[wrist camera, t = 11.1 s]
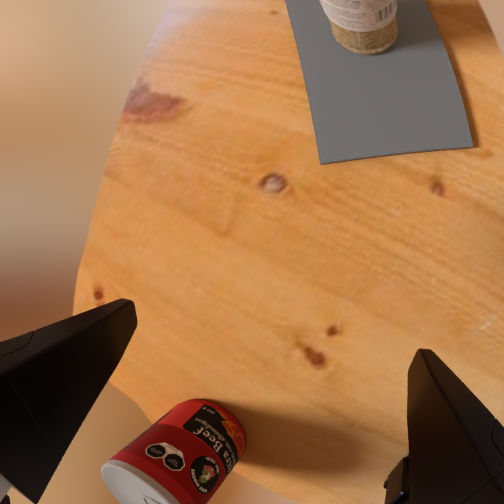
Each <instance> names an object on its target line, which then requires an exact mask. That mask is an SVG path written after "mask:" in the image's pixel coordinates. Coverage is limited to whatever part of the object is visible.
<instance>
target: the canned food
mask: <svg viewBox="0 0 504 504" xmlns="http://www.w3.org/2000/svg"><path fill="white" fill-rule="evenodd" d="M245 443H246V437H245V433H244V430H243V428H242V427H241V425H240V424H239V422H238V421H237V420H236V418H234V417H233V416H232V415H231V414H230V413H229V412H228V411H226V410H225V409H224V408H222V407H220V406H218V405H217V404H214V403H212V402H209V401H205V400H201V399H192V400H187V401H185V402H182V403H179V404H177V405H176V406H175V407H174V408H172V409H171V410H170V411H169V412H168V413H166V414H165V415H164V416H163V417H162V418H160V419H159V420H158V421H157V422H156V423H154V424H153V425H152V426H151V427H150V428H148V429H147V430H146V431H145V432H143V433H142V434H141V435H140V436H139V437H137V438H136V439H135V440H133V441H132V442H131V443H130V444H128V445H127V446H126V447H125V448H123V449H122V450H121V451H119V452H118V453H117V454H116V455H115V456H113V457H112V458H111V459H110V460H109V461H107V462H106V464H105V465H103V466H102V469H101V473H102V477H103V479H104V481H105V483H106V485H107V487H108V488H109V490H110V491H111V492H112V494H113V495H114V496H115V497H116V498H117V499H118V501H119V502H120V503H121V504H207V502H208V501H209V500H210V498H211V497H212V496H213V494H214V493H215V492H216V490H217V489H218V488H219V487H220V485H221V484H222V482H223V481H224V480H225V478H226V477H227V476H228V474H229V473H230V472H231V470H232V469H233V467H234V466H235V465H236V463H237V462H238V460H239V459H240V457H241V456H242V454H243V453H244V448H245Z"/></svg>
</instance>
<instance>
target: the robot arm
mask: <svg viewBox="0 0 504 504" xmlns="http://www.w3.org/2000/svg"><path fill="white" fill-rule="evenodd" d="M136 327H137V316H136V310H135V305H134V302H133V301H132V300H128V299H124V298H121V299H118V300H116V301H113V302H110V303H107V304H105V305H102V306H99V307H97V308H94V309H91V310H88V311H86V312H83V313H80V314H78V315H75V316H72V317H69V318H67V319H64V320H61V321H59V322H56V323H53V324H50V325H48V326H45V327H42V328H40V329H37V330H35V331H31V332H29V333H26V334H23V335H20V336H18V337H15V338H12V339H8V340H5V341H1V342H0V504H10V498H9V496H8V495H7V492H8V491H9V490H10V488H11V487H13V488H15V489H16V490H17V491H18V492H20V493H21V494H22V495H23V496H25V497H26V498H27V499H29V500H30V501H31V502H33V503H34V504H37V503H38V502H39V500H40V498H41V496H42V494H43V493H44V490H45V489H46V487H47V485H48V483H49V481H50V480H51V477H52V476H53V474H54V472H55V470H56V469H57V467H58V465H59V463H60V461H61V460H62V457H63V456H64V454H65V452H66V450H67V449H68V447H69V445H70V443H71V442H72V440H73V438H74V436H75V435H76V433H77V431H78V430H79V428H80V426H81V424H82V422H83V421H84V419H85V418H86V416H87V414H88V412H89V411H90V409H91V407H92V406H93V404H94V403H95V401H96V399H97V398H98V396H99V394H100V393H101V391H102V389H103V388H104V386H105V385H106V383H107V381H108V380H109V378H110V377H111V375H112V373H113V372H114V370H115V369H116V367H117V365H118V363H119V362H120V360H121V358H122V356H123V354H124V352H125V350H126V348H127V346H128V344H129V342H130V340H131V337H132V335H133V333H134V331H135V329H136ZM407 425H408V440H409V454H408V456H407V457H404V458H403V459H402V460H401V461H400V462H399V464H398V465H397V466H396V467H395V468H394V469H393V471H392V472H391V473H390V474H389V476H388V479H387V480H386V481H385V482H384V488H385V489H387V491H386V498H385V504H504V427H503V426H502V425H501V423H500V422H499V421H498V420H497V419H495V417H494V416H493V415H492V413H491V412H490V411H489V410H488V409H487V408H486V407H485V406H484V405H483V404H482V402H481V401H480V400H479V399H478V398H477V397H476V396H475V395H474V394H473V393H472V392H471V391H470V389H469V388H468V387H467V386H466V385H465V384H464V383H463V382H462V381H461V380H460V379H459V378H458V377H457V376H456V375H455V374H454V373H453V372H452V371H451V369H450V368H449V367H448V366H447V365H446V364H445V363H444V362H443V361H442V360H441V359H440V358H439V357H438V356H437V355H436V354H435V353H434V352H433V351H432V350H430V349H418V350H417V352H416V354H415V356H414V358H413V361H412V363H411V365H410V367H409V370H408V398H407Z"/></svg>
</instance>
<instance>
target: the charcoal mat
mask: <svg viewBox="0 0 504 504" xmlns="http://www.w3.org/2000/svg"><path fill="white" fill-rule="evenodd" d="M285 2H286V6H287V10H288V13H289V17H290V21H291V25H292V29H293V33H294V37H295V41H296V45H297V49H298V53H299V58H300V62H301V66H302V71H303V76H304V80H305V85H306V90H307V94H308V99H309V104H310V109H311V115H312V120H313V125H314V131H315V136H316V142H317V148H318V154H319V160H320V164H321V165H324V164H330V163H337V162H344V161H351V160H359V159H366V158H374V157H382V156H391V155H399V154H409V153H419V152H429V151H441V150H453V149H467V148H472V147H473V142H472V137H471V133H470V128H469V124H468V120H467V116H466V112H465V108H464V104H463V100H462V97H461V93H460V90H459V86H458V83H457V80H456V77H455V74H454V71H453V68H452V65H451V62H450V59H449V56H448V53H447V51H446V48H445V45H444V43H443V40H442V37H441V35H440V32H439V30H438V28H437V25H436V23H435V21H434V18H433V16H432V14H431V12H430V9H429V7H428V5H427V3H426V1H425V0H397V11H396V22H397V26H398V35H397V38H396V41H395V42H394V44H392V45H391V47H390V48H388V49H387V50H385V51H384V52H381V53H377V54H369V55H363V54H357V53H354V52H352V51H349V50H348V49H346V48H344V47H343V46H342V45H341V44H340V43H338V42H337V40H336V39H335V37H334V35H333V32H332V29H331V23H330V21H329V19H328V16H327V15H326V13H325V12H324V10H323V7H322V5H321V3H320V1H319V0H285Z"/></svg>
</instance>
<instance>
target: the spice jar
mask: <svg viewBox="0 0 504 504" xmlns="http://www.w3.org/2000/svg"><path fill="white" fill-rule="evenodd" d="M319 1H320V3H321V5H322V7H323V10H324V12H325V13H326V15H327V16H328V19H329V21H330V23H331V29H332V32H333V35H334V37H335V39H336V40H337V42H338V43H340V44H341V45H342V46H343V47H344V48H346V49H348V50H349V51H352V52H354V53H357V54H363V55H369V54H377V53H381V52H384V51H385V50H387V49H388V48H390V47H391V45H392V44H394V42H395V41H396V38H397V35H398V26H397V22H396V11H397V0H319Z"/></svg>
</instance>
